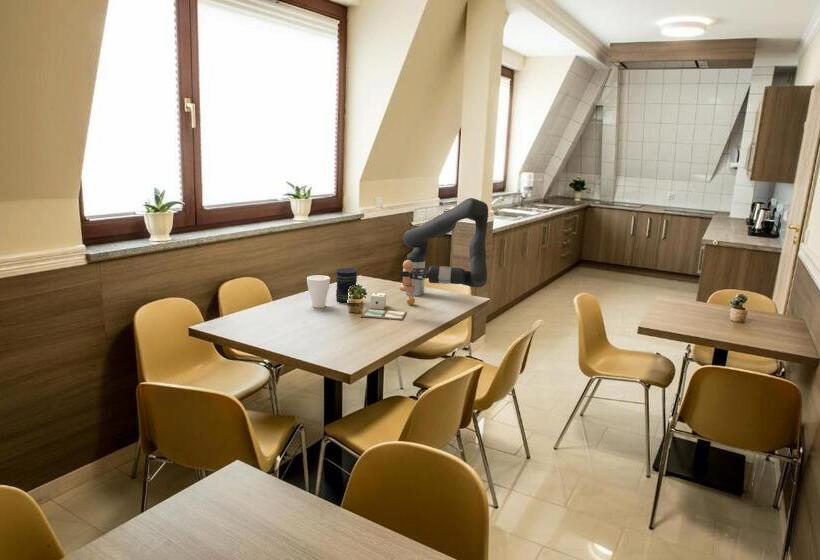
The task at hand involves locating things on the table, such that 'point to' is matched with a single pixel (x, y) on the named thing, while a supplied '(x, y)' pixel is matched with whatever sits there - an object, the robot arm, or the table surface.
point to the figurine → (411, 298)
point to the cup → (318, 289)
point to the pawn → (407, 278)
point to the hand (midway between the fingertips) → (401, 272)
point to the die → (378, 301)
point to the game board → (383, 314)
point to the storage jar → (344, 283)
